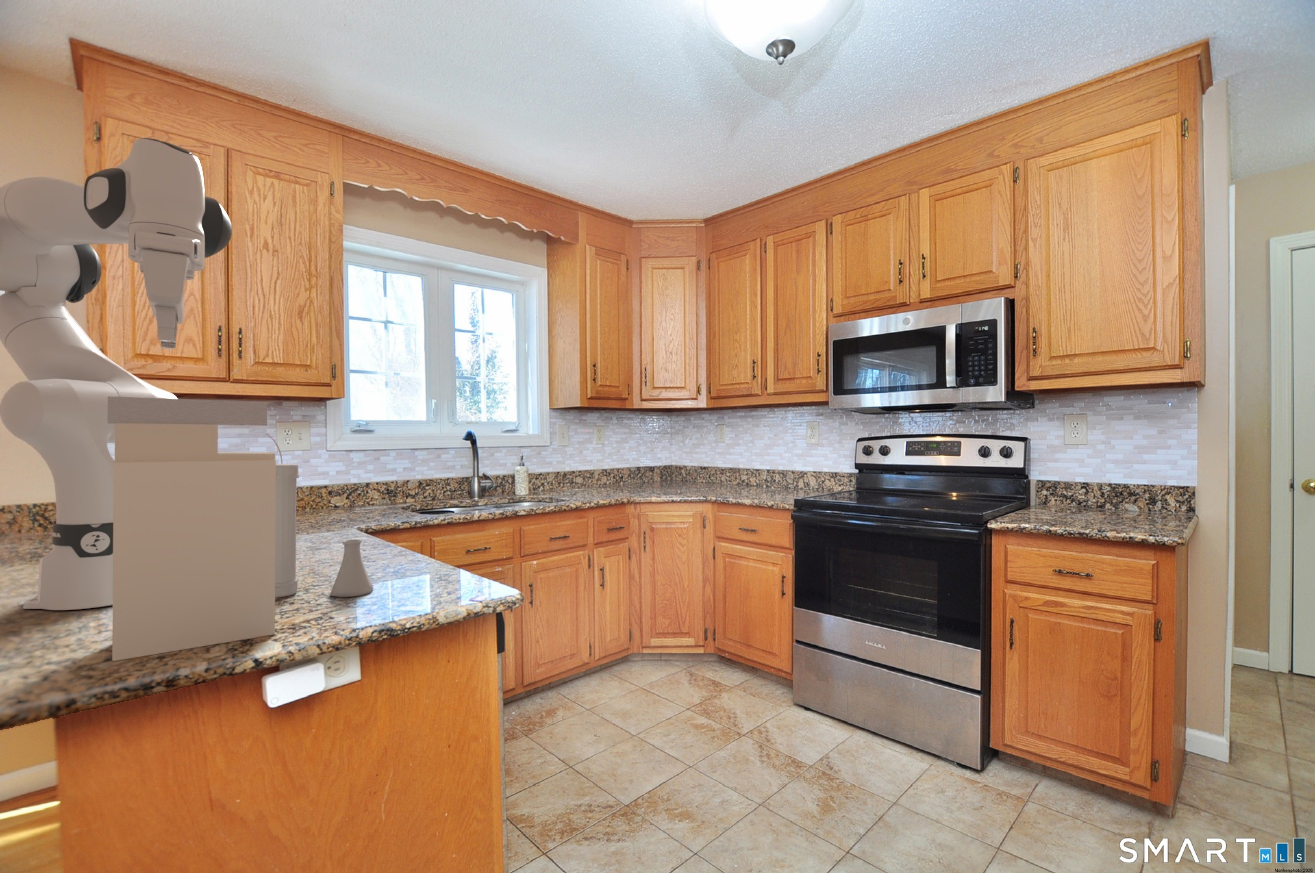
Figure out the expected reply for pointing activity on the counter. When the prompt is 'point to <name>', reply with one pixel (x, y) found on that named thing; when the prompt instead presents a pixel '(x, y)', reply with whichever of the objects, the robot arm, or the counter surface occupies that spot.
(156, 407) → the bar
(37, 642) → the counter surface
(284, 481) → the pipe
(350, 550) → the flask
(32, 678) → the counter surface
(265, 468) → the stepped beige panel
